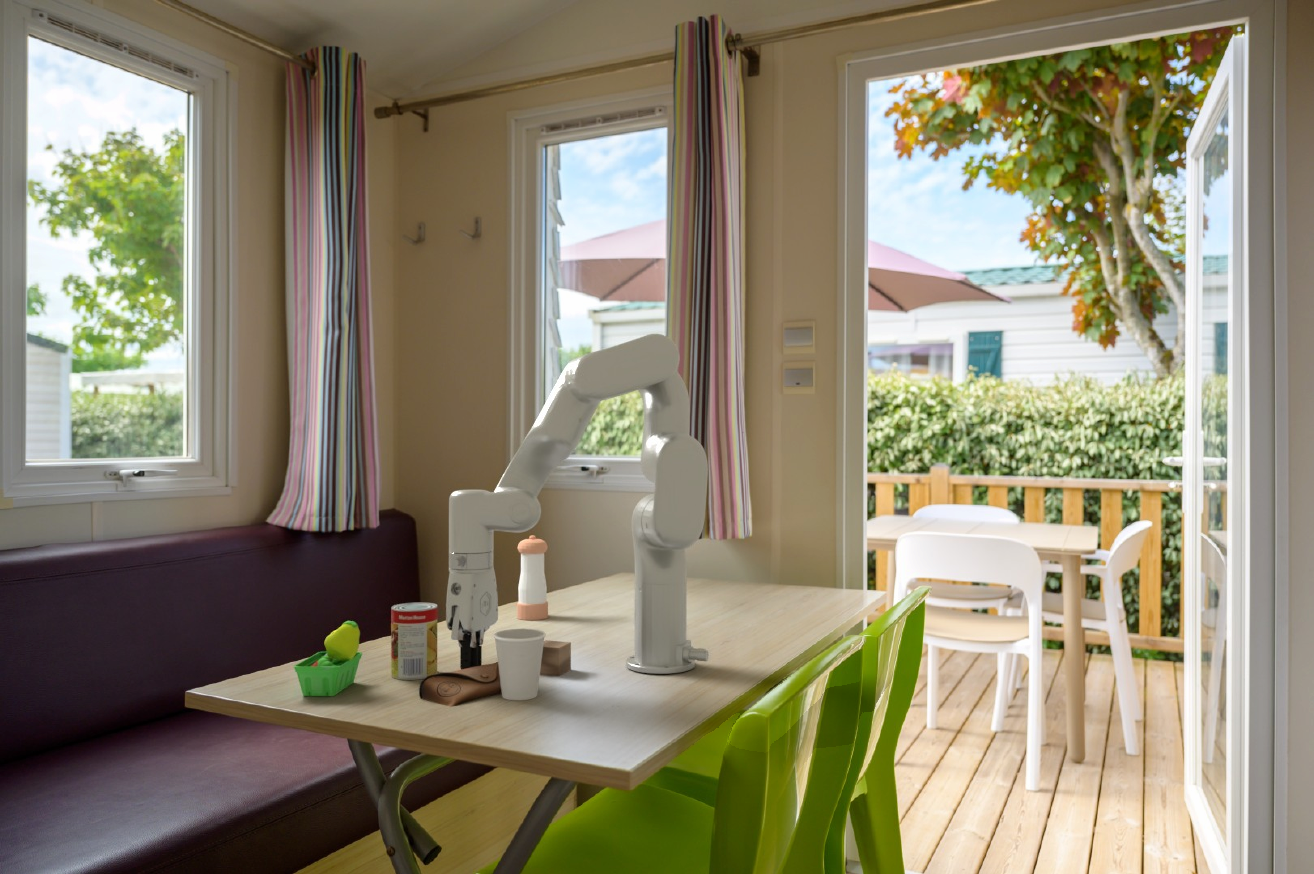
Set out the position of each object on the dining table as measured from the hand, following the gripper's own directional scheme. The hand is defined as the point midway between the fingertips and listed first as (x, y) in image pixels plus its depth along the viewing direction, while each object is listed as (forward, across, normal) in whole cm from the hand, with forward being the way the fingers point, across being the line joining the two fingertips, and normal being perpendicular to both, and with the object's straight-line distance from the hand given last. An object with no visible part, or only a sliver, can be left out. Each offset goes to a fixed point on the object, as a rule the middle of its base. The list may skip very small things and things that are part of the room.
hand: (470, 669), depth 158 cm
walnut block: (+2, +11, -10) cm, 15 cm away
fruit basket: (+2, -12, +19) cm, 23 cm away
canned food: (+2, +1, +12) cm, 12 cm away
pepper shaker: (+2, +56, +17) cm, 59 cm away
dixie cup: (+2, -5, -12) cm, 13 cm away
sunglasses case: (+3, -5, -4) cm, 7 cm away
